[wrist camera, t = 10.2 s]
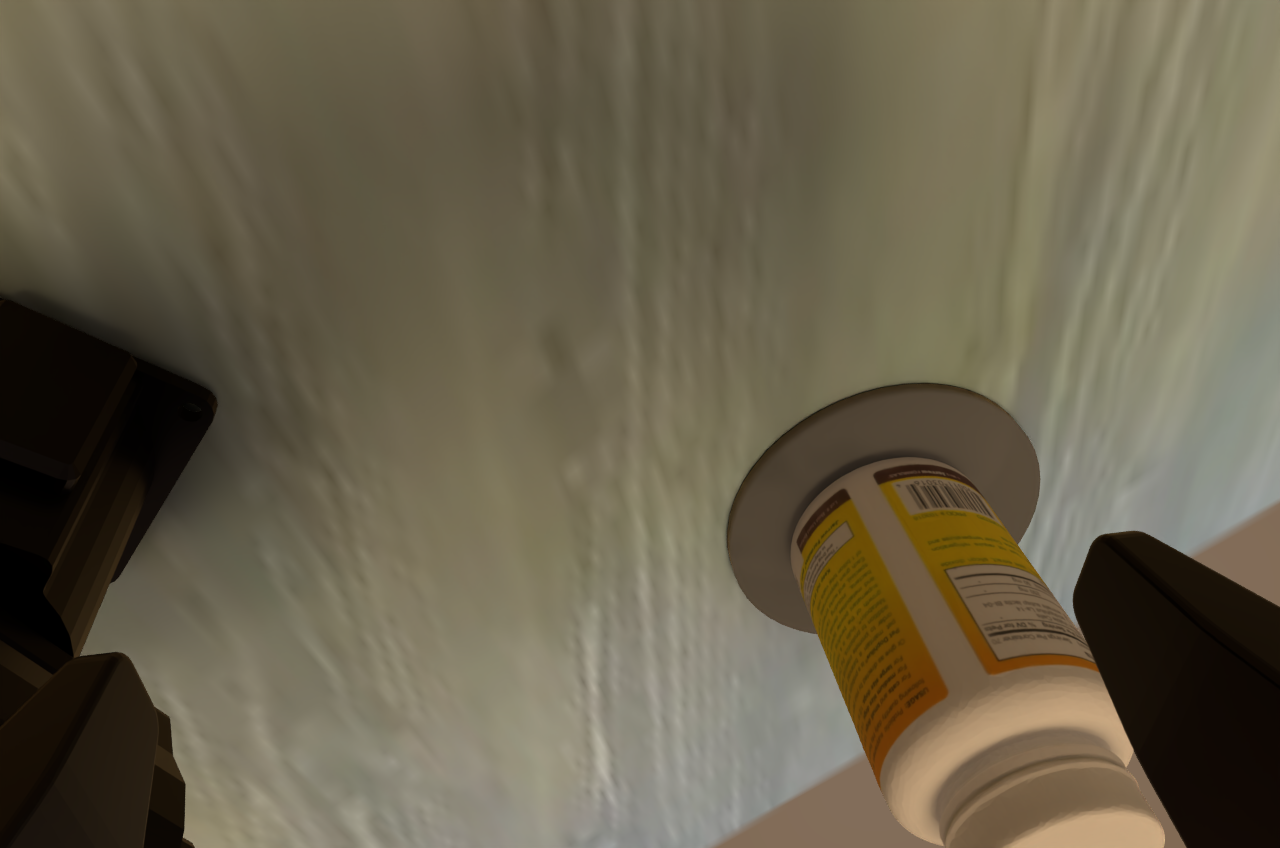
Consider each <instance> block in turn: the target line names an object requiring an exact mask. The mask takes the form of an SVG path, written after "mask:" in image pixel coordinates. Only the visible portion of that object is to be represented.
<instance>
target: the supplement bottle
mask: <svg viewBox="0 0 1280 848" xmlns="http://www.w3.org/2000/svg"><path fill="white" fill-rule="evenodd" d="M791 565H792V570H793V573H794V576H795V579H796V582H797V585H798V587H799V590H800V592H801V594H802V597H803V600H804V602H805V605H806V607H807V610H808V612H809V614H810V617H811V619H812V622H813V624H814V627H815V629H816V632H817V634H818V637H819V639H820V641H821V644H822V646H823V649H824V651H825V654H826V656H827V659H828V661H829V664H830V666H831V669H832V671H833V674H834V676H835V679H836V681H837V684H838V686H839V689H840V691H841V693H842V696H843V699H844V701H845V704H846V706H847V708H848V711H849V713H850V715H851V718H852V721H853V723H854V725H855V728H856V731H857V733H858V735H859V738H860V741H861V743H862V746H863V749H864V751H865V753H866V756H867V758H868V760H869V763H870V765H871V767H872V770H873V772H874V775H875V777H876V780H877V783H878V785H879V787H880V790H881V792H882V794H883V796H884V798H885V800H886V802H887V805H888V807H889V809H890V811H891V812H892V814H893V815H894V817H895V818H896V820H897V821H898V822H899V823H900V824H901V825H902V826H903V827H904V828H905V829H907V830H908V831H909V832H911V833H912V834H913V835H915V836H917V837H919V838H921V839H923V840H925V841H928V842H931V843H934V844H937V845H942V846H945V848H1164V843H1165V835H1164V830H1163V828H1162V825H1161V823H1160V821H1159V820H1158V819H1157V817H1156V816H1155V814H1154V812H1153V811H1152V809H1151V807H1150V806H1149V804H1148V802H1147V801H1146V799H1145V798H1144V796H1143V795H1142V793H1141V791H1140V789H1139V785H1138V783H1137V781H1136V779H1135V778H1134V777H1133V775H1132V774H1131V773H1130V772H1128V770H1127V768H1126V767H1127V765H1128V763H1129V761H1130V759H1131V757H1132V754H1133V751H1134V750H1133V748H1132V746H1131V744H1130V742H1129V739H1128V737H1127V735H1126V733H1125V731H1124V728H1123V726H1122V724H1121V721H1120V719H1119V717H1118V714H1117V712H1116V710H1115V707H1114V705H1113V703H1112V700H1111V698H1110V696H1109V693H1108V691H1107V689H1106V687H1105V684H1104V682H1103V680H1102V677H1101V675H1100V673H1099V670H1098V668H1097V666H1096V663H1095V661H1094V659H1093V656H1092V654H1091V652H1090V649H1089V647H1088V645H1087V642H1086V641H1085V639H1084V638H1083V636H1082V635H1081V634H1080V632H1079V631H1078V629H1077V628H1076V627H1075V625H1074V624H1073V622H1072V621H1071V620H1070V618H1069V617H1068V615H1067V614H1066V612H1065V611H1064V610H1063V608H1062V607H1061V605H1060V604H1059V603H1058V601H1057V600H1056V598H1055V597H1054V595H1053V594H1052V593H1051V591H1050V590H1049V588H1048V587H1047V586H1046V584H1045V583H1044V581H1043V580H1042V579H1041V577H1040V576H1039V574H1038V573H1037V571H1036V570H1035V569H1034V567H1033V566H1032V565H1031V563H1030V562H1029V560H1028V559H1027V558H1026V556H1025V555H1024V553H1023V552H1022V550H1021V549H1020V548H1019V546H1018V545H1017V544H1016V542H1015V541H1014V539H1013V538H1012V536H1011V535H1010V534H1009V532H1008V531H1007V529H1006V528H1005V526H1004V525H1003V524H1002V522H1001V521H1000V519H999V518H998V517H997V515H996V514H995V513H994V511H993V510H992V508H991V507H990V506H989V504H988V503H987V501H986V500H985V498H984V497H983V495H982V494H981V493H980V492H979V490H978V489H977V488H976V487H975V485H974V484H973V483H972V482H971V481H970V480H969V479H968V478H967V477H966V476H965V475H964V474H962V473H961V472H960V471H958V470H956V469H955V468H953V467H951V466H949V465H947V464H944V463H942V462H939V461H935V460H931V459H925V458H917V457H901V458H893V459H886V460H881V461H877V462H874V463H871V464H868V465H865V466H862V467H860V468H857V469H855V470H853V471H852V472H850V473H848V474H846V475H844V476H842V477H841V478H839V479H838V480H836V481H834V482H833V483H832V484H831V485H829V486H828V487H827V488H825V489H824V490H823V491H822V492H821V493H820V494H819V495H818V496H817V497H816V498H815V499H814V500H813V501H812V502H811V503H810V505H809V506H808V507H807V509H806V510H805V512H804V513H803V515H802V516H801V518H800V520H799V522H798V524H797V526H796V529H795V531H794V534H793V538H792V543H791Z"/></svg>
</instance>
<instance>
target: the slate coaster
mask: <svg viewBox="0 0 1280 848" xmlns="http://www.w3.org/2000/svg"><path fill="white" fill-rule="evenodd" d="M901 457H917V458H925V459H931V460H935V461H939V462H942V463H944V464H947V465H949V466H951V467H953V468H955V469H956V470H958V471H960V472H961V473H962V474H964V475H965V476H966V477H967V478H968V479H969V480H970V481H971V482H972V483H973V484H974V485H975V487H976V488H977V489H978V490H979V492H980V493H981V494H982V495H983V497H984V498H985V500H986V501H987V503H988V504H989V506H990V507H991V508H992V510H993V511H994V513H995V514H996V515H997V517H998V518H999V519H1000V521H1001V522H1002V524H1003V525H1004V526H1005V528H1006V529H1007V531H1008V532H1009V534H1010V535H1011V536H1012V538H1013V539H1014V541H1015V542H1016V544H1017V545H1018V543H1019V542H1020V541H1021V539H1022V537H1023V535H1024V534H1025V532H1026V530H1027V528H1028V526H1029V524H1030V522H1031V519H1032V517H1033V514H1034V512H1035V509H1036V505H1037V501H1038V497H1039V489H1040V471H1039V463H1038V460H1037V456H1036V453H1035V450H1034V448H1033V446H1032V444H1031V442H1030V440H1029V438H1028V437H1027V435H1026V434H1025V433H1024V432H1023V430H1022V429H1021V428H1020V427H1019V425H1018V424H1017V423H1016V422H1015V421H1014V419H1013V418H1012V417H1011V416H1010V414H1008V413H1007V412H1006V411H1005V410H1004V409H1002V408H1001V407H1000V406H999V405H998V404H996V403H994V402H993V401H991V400H989V399H988V398H986V397H984V396H982V395H979V394H977V393H974V392H972V391H969V390H966V389H962V388H958V387H953V386H949V385H939V384H928V383H926V384H904V385H897V386H890V387H883V388H880V389H876V390H872V391H868V392H864V393H861V394H858V395H855V396H852V397H850V398H847V399H844V400H842V401H839V402H837V403H835V404H833V405H831V406H829V407H827V408H825V409H823V410H821V411H819V412H817V413H815V414H814V415H812V416H811V417H809V418H807V419H806V420H804V421H802V422H801V423H799V424H798V425H797V426H795V427H794V428H793V429H791V430H790V431H789V432H788V433H786V434H785V435H784V436H782V437H781V438H780V439H779V440H778V441H777V442H776V443H775V444H774V445H773V446H772V447H771V448H770V449H768V450H767V451H766V453H765V454H764V455H763V456H762V457H761V458H760V460H759V461H758V462H757V463H756V464H755V466H754V467H753V468H752V470H751V471H750V473H749V474H748V476H747V477H746V479H745V480H744V482H743V483H742V486H741V488H740V490H739V492H738V494H737V496H736V498H735V500H734V503H733V506H732V510H731V513H730V516H729V522H728V529H727V548H728V553H729V558H730V562H731V565H732V568H733V571H734V574H735V576H736V579H737V581H738V584H739V586H740V588H741V589H742V591H743V592H744V594H745V595H746V597H747V598H748V599H749V601H750V602H751V603H752V604H753V605H754V606H755V607H756V608H757V609H758V610H760V611H761V612H762V613H764V614H765V615H766V616H768V617H769V618H771V619H773V620H775V621H777V622H779V623H780V624H782V625H785V626H788V627H791V628H793V629H796V630H800V631H804V632H809V633H813V634H817V632H816V629H815V627H814V624H813V622H812V619H811V617H810V614H809V612H808V610H807V607H806V605H805V602H804V600H803V597H802V594H801V592H800V590H799V587H798V585H797V582H796V579H795V576H794V573H793V570H792V565H791V543H792V538H793V534H794V531H795V529H796V526H797V524H798V522H799V520H800V518H801V516H802V515H803V513H804V512H805V510H806V509H807V507H808V506H809V505H810V503H811V502H812V501H813V500H814V499H815V498H816V497H817V496H818V495H819V494H820V493H821V492H822V491H823V490H824V489H825V488H827V487H828V486H829V485H831V484H832V483H833V482H834V481H836V480H838V479H839V478H841V477H842V476H844V475H846V474H848V473H850V472H852V471H853V470H855V469H857V468H860V467H862V466H865V465H868V464H871V463H874V462H877V461H881V460H886V459H893V458H901Z"/></svg>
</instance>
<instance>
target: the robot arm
mask: <svg viewBox="0 0 1280 848" xmlns="http://www.w3.org/2000/svg"><path fill="white" fill-rule="evenodd" d="M184 403H191V404H195V405H197V406H198V407H199V408H200V409H201V411H197V412H194V411H189V410H188V409H186V408H185V407H184V406H183V404H184ZM217 406H218V404H217V400H216V397H215V396H214V395H213V393H212V392H211V391H209V390H208V389H206V388H205V387H203V386H201V385H198V384H196V383H194V382H192V381H189V380H187V379H185V378H182V377H180V376H178V375H176V374H173V373H171V372H169V371H167V370H164V369H162V368H160V367H157V366H155V365H153V364H151V363H148V362H146V361H144V360H141V359H139V358H137V357H135V356H132V355H131V354H130V353H129V352H127V351H125V350H123V349H120V348H118V347H116V346H113V345H111V344H109V343H107V342H104V341H102V340H100V339H98V338H95V337H93V336H91V335H88V334H86V333H84V332H82V331H79V330H77V329H75V328H72V327H70V326H68V325H66V324H63V323H61V322H59V321H57V320H54V319H52V318H50V317H47V316H45V315H43V314H41V313H38V312H36V311H34V310H31V309H29V308H27V307H25V306H22V305H20V304H18V303H16V302H13V301H10V300H4V299H2V298H0V848H195V847H194V845H193V843H191V842H190V841H188V840H186V839H185V838H183V833H184V821H185V782H184V780H183V777H182V775H181V773H180V771H179V768H178V766H177V764H176V762H175V759H174V757H173V750H172V737H171V724H170V718H169V716H167V715H166V714H164V713H163V712H161V711H160V710H159V709H157V708H156V707H154V705H153V703H152V701H151V699H150V697H149V695H148V693H147V691H146V689H145V687H144V685H143V683H142V681H141V679H140V677H139V675H138V673H137V671H136V669H135V667H134V665H133V663H132V661H131V660H130V658H129V657H128V656H126V655H125V654H123V653H119V652H112V653H103V654H95V655H87V656H80V653H81V651H82V649H83V646H84V644H85V642H86V639H87V637H88V634H89V632H90V630H91V627H92V625H93V622H94V620H95V618H96V615H97V613H98V610H99V608H100V606H101V603H102V601H103V599H104V596H105V594H106V591H107V589H108V587H109V584H110V583H112V582H114V581H115V580H116V579H117V578H119V576H120V575H121V573H122V571H123V570H124V568H125V566H126V565H127V563H128V561H129V560H130V558H131V556H132V555H133V553H134V551H135V550H136V548H137V546H138V545H139V543H140V541H141V540H142V538H143V536H144V535H145V533H146V531H147V530H148V528H149V526H150V525H151V523H152V521H153V520H154V518H155V516H156V515H157V513H158V511H159V510H160V508H161V506H162V505H163V503H164V501H165V500H166V498H167V496H168V495H169V493H170V491H171V490H172V488H173V486H174V485H175V483H176V481H177V480H178V478H179V476H180V475H181V473H182V471H183V470H184V468H185V466H186V465H187V463H188V461H189V460H190V458H191V456H192V455H193V453H194V451H195V450H196V448H197V446H198V445H199V443H200V441H201V440H202V438H203V436H204V435H205V433H206V431H207V430H208V428H209V426H210V425H211V423H212V421H213V418H214V416H215V413H216V410H217ZM1073 608H1074V613H1075V616H1076V619H1077V621H1078V624H1079V626H1080V628H1081V631H1082V633H1083V635H1084V638H1085V640H1086V642H1087V645H1088V647H1089V649H1090V652H1091V654H1092V656H1093V659H1094V661H1095V663H1096V666H1097V668H1098V670H1099V673H1100V675H1101V677H1102V680H1103V682H1104V684H1105V687H1106V689H1107V691H1108V693H1109V696H1110V698H1111V700H1112V703H1113V705H1114V707H1115V710H1116V712H1117V714H1118V717H1119V719H1120V721H1121V724H1122V726H1123V728H1124V731H1125V733H1126V735H1127V737H1128V739H1129V742H1130V744H1131V746H1132V748H1133V750H1134V752H1135V754H1136V756H1137V758H1138V760H1139V762H1140V764H1141V766H1142V768H1143V770H1144V772H1145V774H1146V775H1147V777H1148V779H1149V781H1150V783H1151V784H1152V786H1153V788H1154V790H1155V792H1156V794H1157V795H1158V797H1159V799H1160V801H1161V802H1162V804H1163V806H1164V808H1165V810H1166V812H1167V813H1168V815H1169V817H1170V819H1171V821H1172V822H1173V824H1174V826H1175V828H1176V829H1177V831H1178V833H1179V835H1180V837H1181V839H1182V840H1183V842H1184V844H1185V846H1186V847H1187V848H1280V607H1279V606H1277V605H1275V604H1274V603H1272V602H1270V601H1268V600H1266V599H1264V598H1263V597H1261V596H1259V595H1257V594H1256V593H1254V592H1252V591H1250V590H1248V589H1246V588H1245V587H1242V586H1241V585H1239V584H1237V583H1236V582H1234V581H1232V580H1230V579H1228V578H1226V577H1225V576H1223V575H1221V574H1219V573H1217V572H1216V571H1214V570H1212V569H1210V568H1208V567H1206V566H1205V565H1203V564H1201V563H1199V562H1197V561H1195V560H1194V559H1192V558H1190V557H1188V556H1187V555H1185V554H1183V553H1181V552H1179V551H1177V550H1176V549H1174V548H1172V547H1170V546H1168V545H1167V544H1165V543H1163V542H1161V541H1159V540H1157V539H1156V538H1154V537H1152V536H1150V535H1148V534H1146V533H1144V532H1140V531H1126V532H1118V533H1109V534H1103V535H1100V536H1098V537H1097V538H1096V539H1095V540H1094V541H1093V542H1092V544H1091V546H1090V549H1089V552H1088V554H1087V557H1086V560H1085V562H1084V565H1083V568H1082V570H1081V573H1080V576H1079V578H1078V581H1077V584H1076V586H1075V589H1074V593H1073Z"/></svg>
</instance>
